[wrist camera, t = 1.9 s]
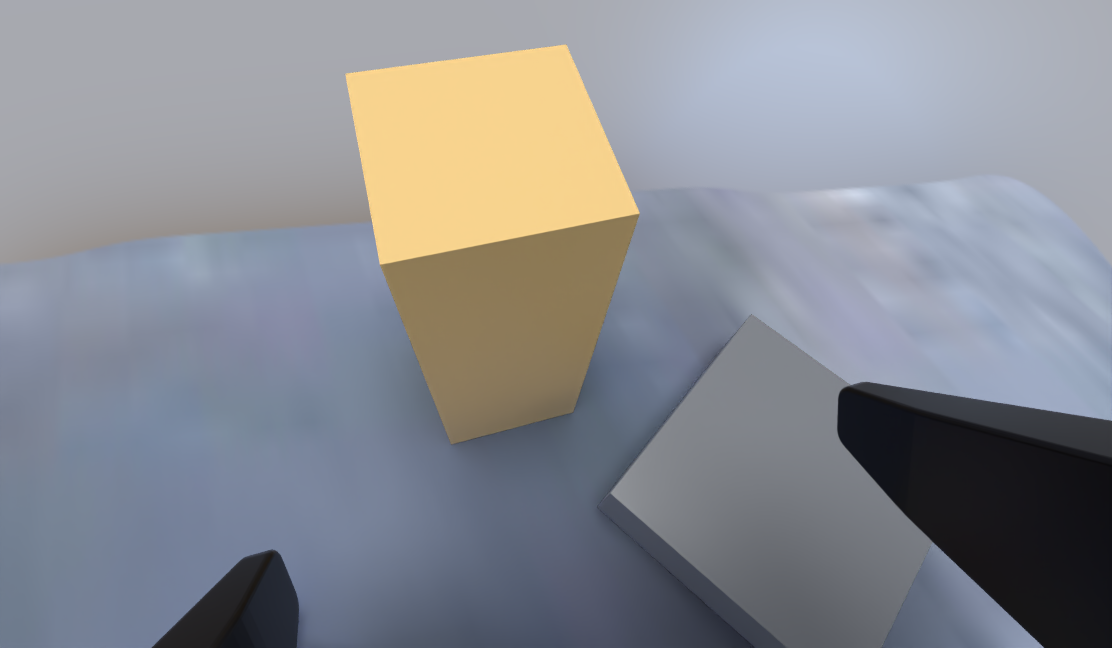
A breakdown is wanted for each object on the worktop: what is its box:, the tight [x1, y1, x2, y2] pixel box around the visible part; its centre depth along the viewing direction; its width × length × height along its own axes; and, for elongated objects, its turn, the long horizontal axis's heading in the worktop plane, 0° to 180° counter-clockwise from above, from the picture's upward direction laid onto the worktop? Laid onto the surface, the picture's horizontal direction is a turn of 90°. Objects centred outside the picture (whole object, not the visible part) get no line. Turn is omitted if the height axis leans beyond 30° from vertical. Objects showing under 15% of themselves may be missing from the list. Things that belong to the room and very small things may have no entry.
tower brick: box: [346, 45, 640, 445], centre depth 17 cm, size 5×5×13 cm
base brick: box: [597, 314, 932, 648], centre depth 20 cm, size 9×9×4 cm
